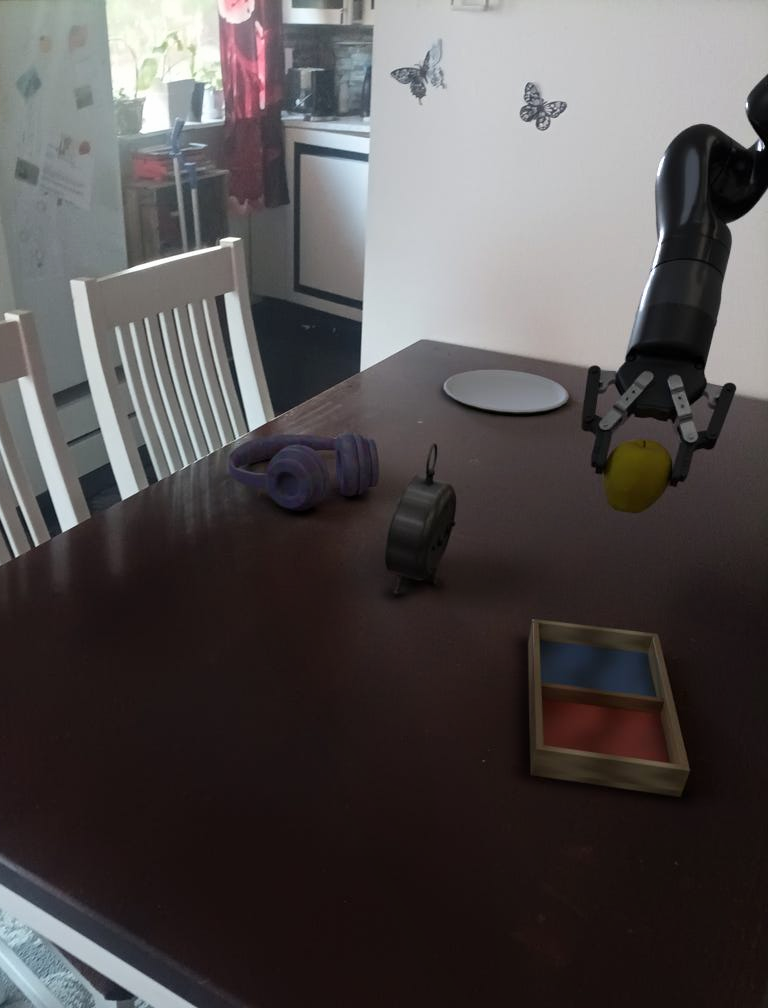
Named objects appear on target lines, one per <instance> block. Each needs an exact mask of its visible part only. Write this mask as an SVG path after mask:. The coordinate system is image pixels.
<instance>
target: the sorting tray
mask: <svg viewBox="0 0 768 1008" xmlns="http://www.w3.org/2000/svg"><path fill="white" fill-rule="evenodd" d="M527 659H528V660H527V667H528V669H527V671H528V714H529V715H528V717H529V718H528V719H529V720H528V721H529V760H530V761H529V762H530V763H529V764H530V765H529V766H530V767H529V768H530V775H531V776H534V777H535V776H536V777H542V778H549V779H556V780H563V781H569V782H576V783H583V784H588V785H589V784H590V785H596V786H603V787H610V788H615V789H616V788H617V789H623V790H632V791H636V792H643V793H644V792H645V793H651V794H659V795H665V796H671V797H678V798H681V797H682V794H683V791H684V789H685V787H686V783H687V781H688V778H689V775H690V772H691V769H690V764H689V760H688V756H687V755H688V754H687V751H686V747H685V743H684V739H683V735H682V730H681V726H680V721H679V718H678V713H677V709H676V706H675V705H676V704H675V701H674V697H673V692H672V688H671V683H670V679H669V675H668V670H667V667H666V663H665V658H664V653H663V649H662V645H661V641H660V637H659V633H654V632H645V631H644V632H643V631H635V630H627V629H619V628H611V627H602V626H595V625H584V624H577V623H568V622H562V621H561V622H560V621H552V620H546V619H545V620H544V619H536V618H532V620H531V625H530V630H529V636H528V640H527Z"/></svg>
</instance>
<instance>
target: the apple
mask: <svg viewBox="0 0 768 1008" xmlns="http://www.w3.org/2000/svg"><path fill="white" fill-rule="evenodd" d="M673 466H674V463H673V459H672V456H671V454H670V452H669V451H668V449H667V448H666V447H665V446H663V444H661V443H660V442H658V441H656V440H652V439H648V438H635V439H630V440H626V441H624V442H622V443H620V444H618V445H617V446H616V447H615V448H614V449H613V450H612V451H611V452H610V454H609V455H608V456H607V459H606V463H605V466H604V470H603V474H602V487H603V493H604V497H605V500H606V503H607V504H608V505H609V506H610V507H611V508H612V509H613V510H614V511H618V512H623V513H630V514H641V513H643V512H644V511H647V510H648V509H649V508H650V507H652V506H653V505H654V504H655V503H657V501H658V500H659V499H660V498H661V497H662V496H663V495H664V493H665V492H666V490H667V489H668V487H669V483H670V479H671V475H672V470H673Z"/></svg>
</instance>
